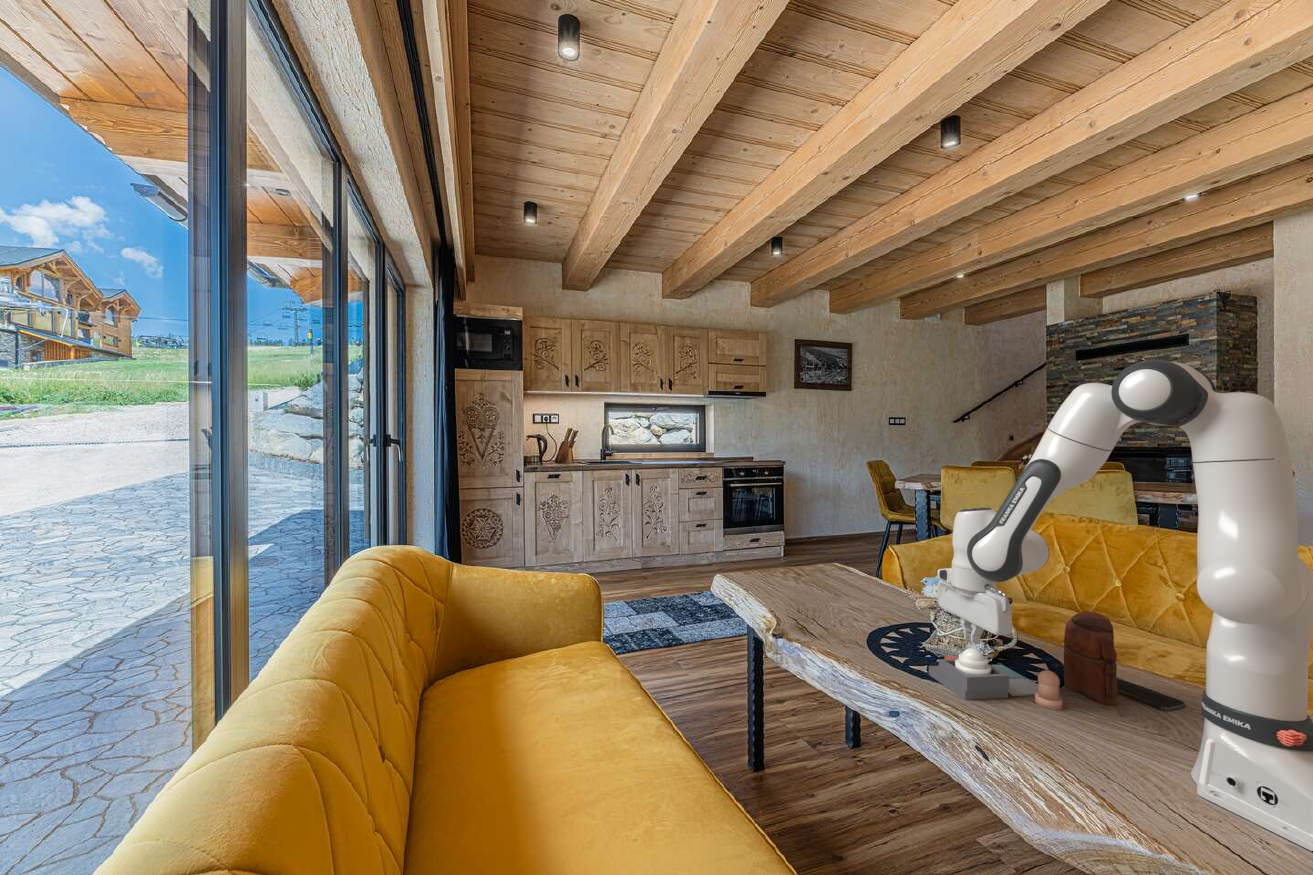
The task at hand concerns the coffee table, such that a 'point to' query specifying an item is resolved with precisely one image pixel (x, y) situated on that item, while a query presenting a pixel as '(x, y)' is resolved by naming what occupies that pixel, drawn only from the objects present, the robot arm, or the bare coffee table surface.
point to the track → (1018, 683)
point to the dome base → (970, 681)
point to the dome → (973, 662)
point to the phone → (1148, 696)
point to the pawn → (1048, 691)
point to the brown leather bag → (1091, 657)
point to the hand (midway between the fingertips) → (971, 640)
